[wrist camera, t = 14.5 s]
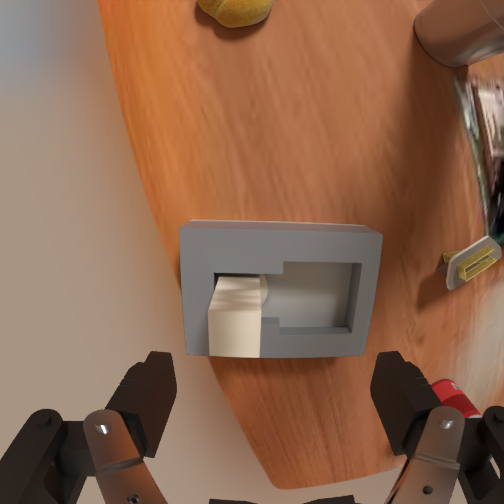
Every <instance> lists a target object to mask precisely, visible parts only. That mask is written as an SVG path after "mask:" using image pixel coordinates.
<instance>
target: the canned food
mask: <svg viewBox="0 0 504 504" xmlns="http://www.w3.org/2000/svg"><path fill="white" fill-rule="evenodd" d="M431 387H432V389H433V390H434V392H435V393H436V395H437V396H438V398H439V399H440V401H441V402H442V404H443V405H444V406H450V407H453V408H455V409H457V410H459V411H460V412H461V413H462V414H463V416H464V418H482V416H481V414H480V413H479V411H478V410H477V409H476V408H475V406H474V405H473V404H472V403H471V402H470V400H469V399H468V398H467V397H466V395H465V394H464V393H463V392H462V390H461V389H460V388H459V387H458V386H457V384H456V383H455V382H453V381H451V380H449V379H443V380H440V381H437V382H435V383H434V384H432V385H431Z"/></svg>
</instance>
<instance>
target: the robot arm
mask: <svg viewBox="0 0 504 504" xmlns="http://www.w3.org/2000/svg"><path fill="white" fill-rule="evenodd" d="M414 25H415V32H416V35H417V37H418V39H419V41H420V43H421V45H422V46H423V48H424V49H425V50H426V51H427V53H428V54H429V55H430V56H431V57H433V58H434V59H435V60H436V61H438V62H439V63H441V64H443V65H445V66H448V67H454V68H455V67H460V66H462V65H464V64H465V65H468V66H469V65H472V64H474V63H477V62H479V61H482V60H484V59H487V58H490V57H492V56H495V55H497V54H500V53H503V52H504V0H434V1H433V2H432V3H431V4H430V5H428V6H427V7H426V8H425V9H424V10H423V11H421V12H420V13H419V14H418V15H417V17H416V18H415V23H414ZM370 392H371V397H372V400H373V402H374V405H375V407H376V409H377V412H378V414H379V417H380V419H381V422H382V424H383V427H384V429H385V432H386V434H387V437H388V439H389V442H390V444H391V447H392V450H393V452H394V455H395V456H397V455H402V454H406V456H407V460H406V461H405V463H404V466H403V468H402V470H401V472H400V474H399V476H398V478H397V480H396V482H395V484H394V486H393V488H392V490H391V492H390V494H389V496H388V498H387V499H386V501H385V503H384V504H449V502H450V498H451V496H452V493H453V489H454V486H455V482H456V479H457V478H458V480H459V483H460V485H461V487H462V490H463V493H464V495H465V498H466V500H467V503H468V504H504V407H502V406H491V407H489V408H487V409H486V411H485V412H484V414H483V416H482V418H464V416H463V414H462V413H461V412H460V411H459V410H457V409H455V408H453V407H450V406H444V405H443V404H442V402H441V401H440V399H439V398H438V396H437V395H436V393H435V392H434V390H433V389H432V387H431V386H430V384H428V381H427V380H426V378H424V375H423V374H422V372H421V371H420V369H419V368H418V367H416V366H415V365H414V364H412V363H411V362H405V360H404V359H403V357H402V356H401V354H400V353H399V352H398V351H390V352H380V353H379V354H378V356H377V360H376V364H375V368H374V372H373V376H372V380H371V386H370ZM176 393H177V384H176V378H175V372H174V366H173V360H172V355H171V353H168V352H157V351H151V352H150V354H149V355H148V357H147V359H146V361H145V362H144V363H142V362H138V363H136V364H135V365H134V366H132V367H131V368H130V369H129V370H128V371H127V373H126V375H125V376H124V379H122V381H121V383H120V386H118V388H117V389H116V391H115V392H114V394H113V396H112V397H111V399H110V401H109V402H108V404H107V406H106V407H105V409H101V410H97V411H94V412H92V413H91V414H89V415H88V416H87V417H86V418H85V420H84V421H63V420H62V417H61V416H60V414H59V413H58V412H57V411H55V410H52V409H41V410H38V411H36V412H34V413H33V414H32V415H31V416H30V417H29V418H28V420H27V421H26V423H25V424H24V426H23V427H22V428H21V430H20V431H19V433H18V434H17V436H16V437H15V439H14V440H13V442H12V443H11V445H10V446H9V448H8V449H7V451H6V452H5V454H4V455H3V457H2V458H1V460H0V504H76V502H77V500H78V498H79V495H80V493H81V490H82V488H83V485H84V483H85V480H86V478H87V476H95V477H96V480H97V483H98V485H99V488H100V490H101V493H102V496H103V498H104V501H105V503H106V504H168V503H167V501H166V500H165V498H164V496H163V495H162V493H161V492H160V490H159V488H158V486H157V484H156V483H155V481H154V479H153V477H152V476H151V474H150V472H149V470H148V468H147V466H146V465H145V463H144V461H143V458H144V456H145V457H150V458H154V457H155V454H156V451H157V449H158V446H159V443H160V440H161V437H162V434H163V432H164V429H165V426H166V423H167V420H168V417H169V414H170V412H171V409H172V406H173V404H174V401H175V398H176ZM492 457H493V458H494V460H495V462H496V464H497V466H498V468H499V470H500V479H499V478H498V476H497V474H496V472H495V470H494V468H493V466H492V464H491V462H490V460H491V458H492ZM209 504H256V503H252V502H247V501H233V500H219V499H210V500H209ZM304 504H360V503H355V501H354V497H353V495H348V496H341V497H334V498H324V499H318V500H314V501H311V502H307V503H304Z"/></svg>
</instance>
